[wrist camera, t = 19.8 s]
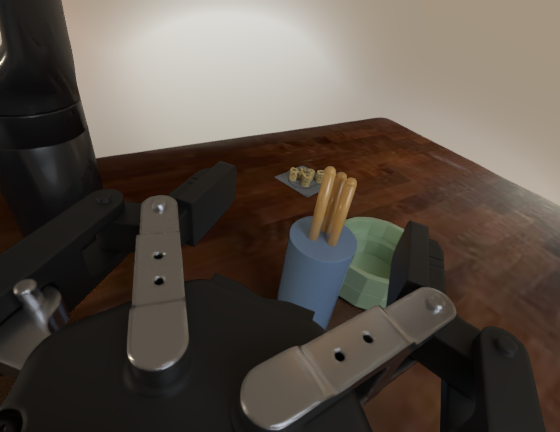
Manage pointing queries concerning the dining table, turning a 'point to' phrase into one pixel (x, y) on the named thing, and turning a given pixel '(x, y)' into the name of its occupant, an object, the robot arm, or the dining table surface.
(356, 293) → the bowl
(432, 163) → the dining table surface
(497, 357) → the robot arm
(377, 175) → the dining table surface
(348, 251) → the breadstick jar
